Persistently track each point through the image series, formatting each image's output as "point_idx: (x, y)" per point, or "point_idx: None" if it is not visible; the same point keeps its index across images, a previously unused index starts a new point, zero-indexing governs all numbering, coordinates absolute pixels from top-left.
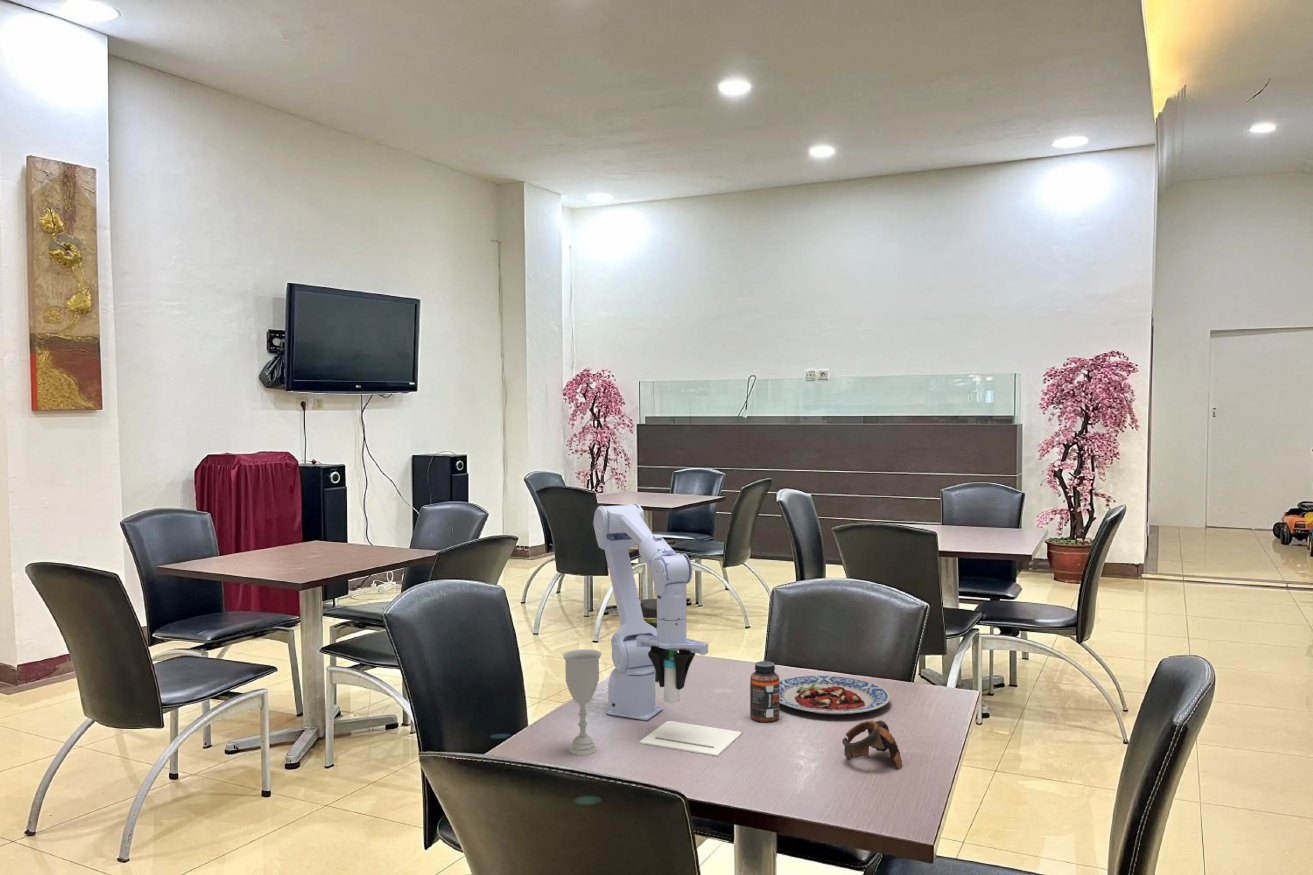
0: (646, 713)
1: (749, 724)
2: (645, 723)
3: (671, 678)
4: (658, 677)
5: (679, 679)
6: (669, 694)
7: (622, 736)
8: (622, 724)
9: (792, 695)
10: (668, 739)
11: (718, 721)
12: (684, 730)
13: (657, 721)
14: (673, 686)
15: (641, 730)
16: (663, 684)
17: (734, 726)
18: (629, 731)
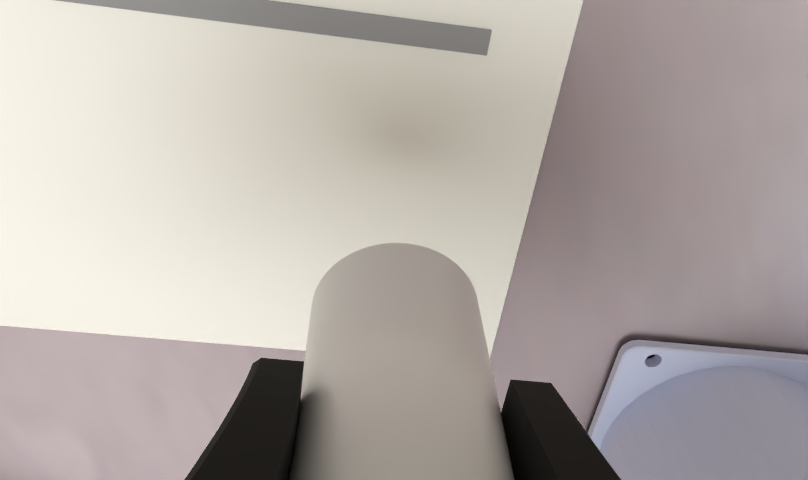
0: (643, 401)
1: (4, 447)
2: (625, 303)
3: (373, 465)
4: (604, 467)
5: (218, 453)
6: (400, 298)
7: (759, 27)
8: (779, 247)
9: None
10: (376, 32)
11: (195, 440)
12: (327, 245)
13: (554, 351)
14: (345, 376)
15: (630, 183)
16: (510, 415)
17: (68, 401)
18: (715, 141)
